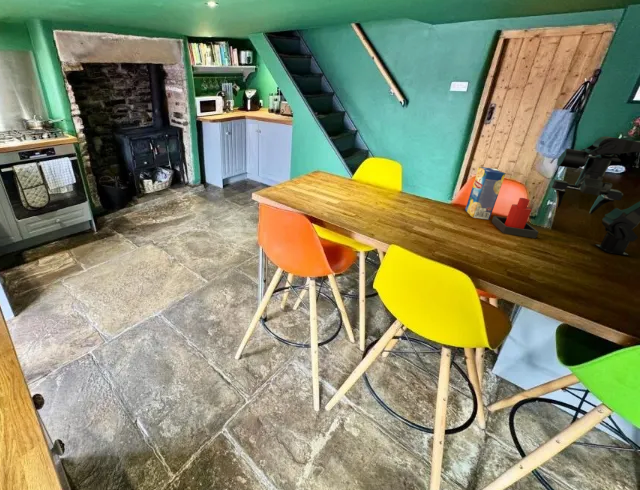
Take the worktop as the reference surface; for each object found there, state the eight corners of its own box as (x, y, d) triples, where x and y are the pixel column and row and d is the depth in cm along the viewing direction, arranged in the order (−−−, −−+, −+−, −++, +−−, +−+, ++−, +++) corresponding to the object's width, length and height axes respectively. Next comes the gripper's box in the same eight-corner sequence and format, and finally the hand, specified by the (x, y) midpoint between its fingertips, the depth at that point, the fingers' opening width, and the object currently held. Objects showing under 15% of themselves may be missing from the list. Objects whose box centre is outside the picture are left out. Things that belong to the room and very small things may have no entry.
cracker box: (480, 212, 149) (495, 168, 141) (489, 219, 139) (505, 173, 131) (465, 209, 151) (478, 166, 143) (472, 217, 141) (487, 171, 133)
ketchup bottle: (526, 232, 125) (539, 202, 121) (510, 231, 126) (522, 200, 121) (515, 226, 131) (527, 197, 127) (500, 225, 132) (511, 196, 127)
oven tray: (535, 238, 121) (538, 231, 120) (503, 233, 125) (505, 226, 124) (520, 226, 133) (523, 220, 132) (491, 222, 136) (493, 215, 135)
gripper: (564, 169, 109) (545, 208, 115) (639, 181, 100) (615, 223, 106) (558, 164, 118) (541, 201, 124) (626, 175, 109) (604, 215, 114)
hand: (573, 210), depth 117 cm, fingers open, 9 cm apart
